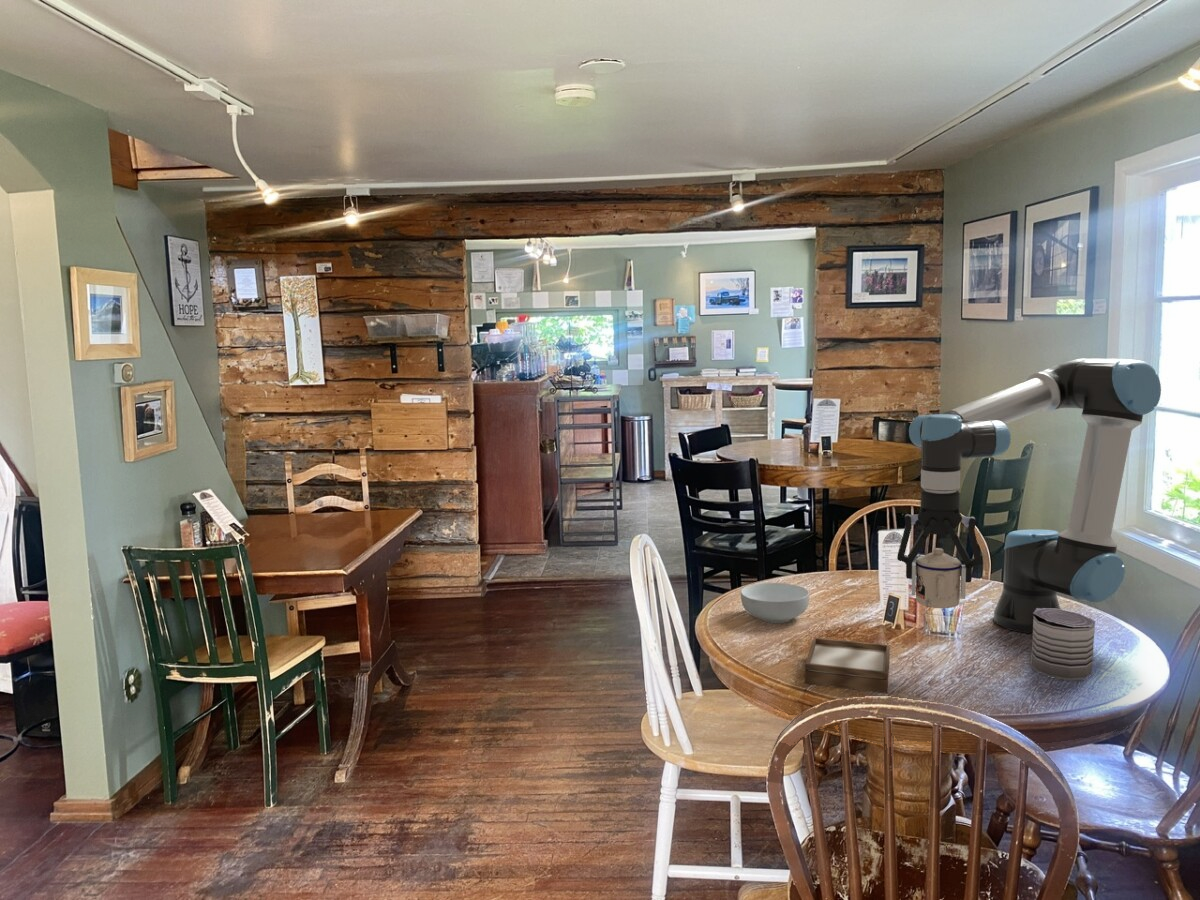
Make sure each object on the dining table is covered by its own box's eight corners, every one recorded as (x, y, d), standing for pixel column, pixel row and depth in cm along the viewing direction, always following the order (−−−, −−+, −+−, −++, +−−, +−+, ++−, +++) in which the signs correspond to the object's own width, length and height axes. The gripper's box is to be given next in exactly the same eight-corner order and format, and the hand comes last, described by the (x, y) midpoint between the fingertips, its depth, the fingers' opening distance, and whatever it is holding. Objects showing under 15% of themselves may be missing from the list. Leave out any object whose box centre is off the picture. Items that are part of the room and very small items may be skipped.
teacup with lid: (912, 594, 187) (913, 542, 185) (957, 596, 185) (958, 544, 183) (917, 612, 176) (918, 557, 174) (965, 615, 173) (966, 559, 171)
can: (1032, 656, 188) (1035, 603, 186) (1092, 665, 182) (1096, 611, 180) (1028, 674, 178) (1031, 618, 176) (1091, 684, 172) (1095, 627, 170)
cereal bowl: (785, 604, 226) (785, 578, 226) (822, 623, 211) (823, 595, 210) (728, 612, 221) (728, 586, 220) (762, 633, 205) (762, 604, 204)
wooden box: (889, 663, 185) (889, 645, 184) (887, 693, 170) (887, 672, 169) (813, 655, 190) (813, 637, 190) (804, 683, 175) (805, 663, 175)
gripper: (996, 487, 176) (993, 593, 180) (885, 484, 184) (884, 586, 187) (999, 494, 169) (996, 604, 173) (884, 491, 177) (882, 596, 180)
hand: (937, 595), depth 180 cm, fingers closed on teacup with lid, 9 cm apart
